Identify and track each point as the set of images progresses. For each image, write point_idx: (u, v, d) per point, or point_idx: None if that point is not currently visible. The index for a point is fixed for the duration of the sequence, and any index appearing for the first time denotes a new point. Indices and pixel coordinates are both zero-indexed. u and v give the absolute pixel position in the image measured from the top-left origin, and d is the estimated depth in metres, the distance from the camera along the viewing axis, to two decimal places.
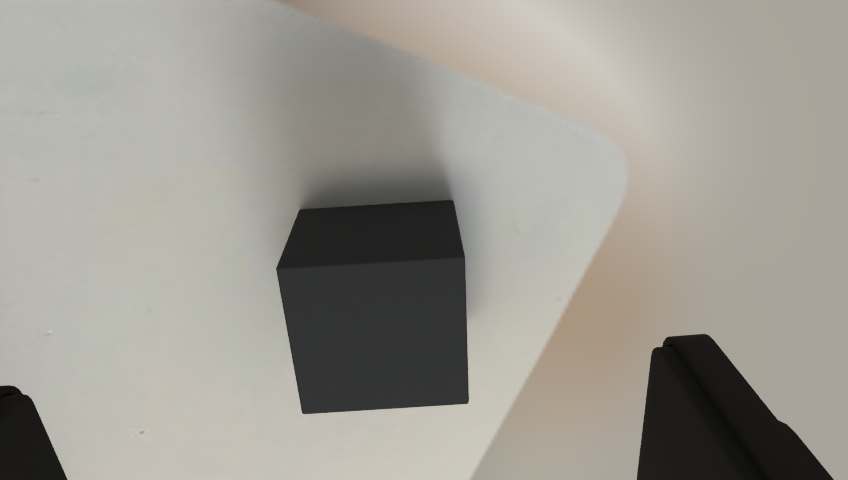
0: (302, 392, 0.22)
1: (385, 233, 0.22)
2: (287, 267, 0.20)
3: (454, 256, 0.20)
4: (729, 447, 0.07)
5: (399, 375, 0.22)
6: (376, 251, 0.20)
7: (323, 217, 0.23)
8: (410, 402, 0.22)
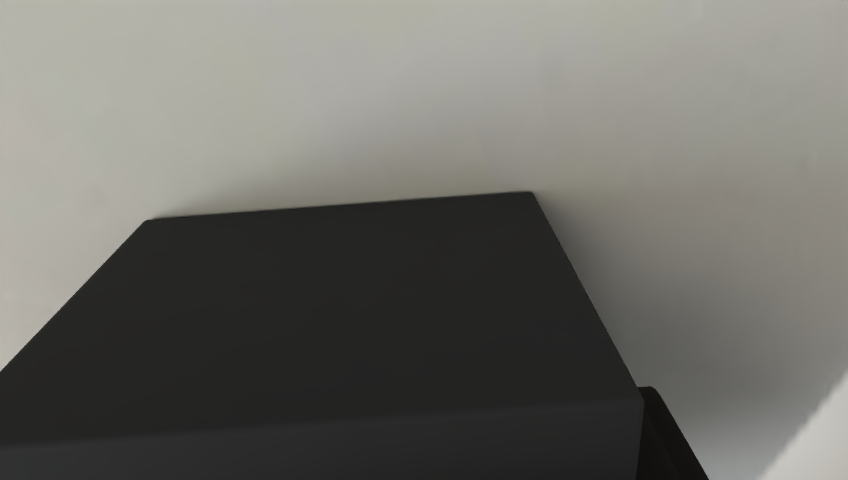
0: (44, 457, 0.05)
1: None
2: None
3: None
4: None
5: None
6: None
7: None
8: None
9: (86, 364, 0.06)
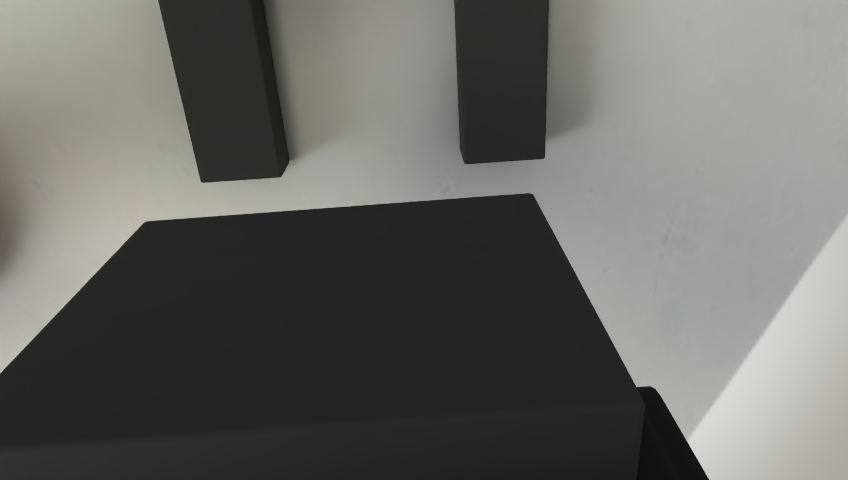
0: (44, 459, 0.05)
1: None
2: None
3: None
4: None
5: None
6: None
7: None
8: None
9: (86, 366, 0.06)
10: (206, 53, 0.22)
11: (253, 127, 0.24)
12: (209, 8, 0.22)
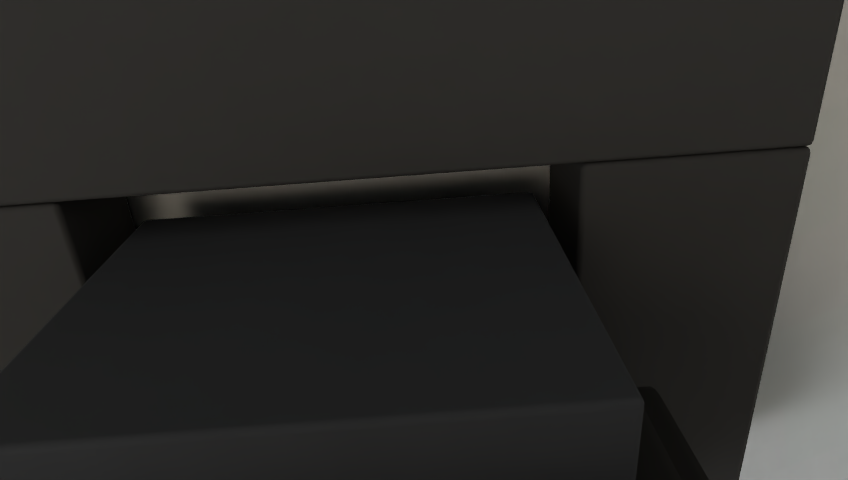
0: (43, 458, 0.05)
1: None
2: None
3: None
4: None
5: None
6: None
7: None
8: None
9: (85, 365, 0.06)
10: None
11: None
12: None
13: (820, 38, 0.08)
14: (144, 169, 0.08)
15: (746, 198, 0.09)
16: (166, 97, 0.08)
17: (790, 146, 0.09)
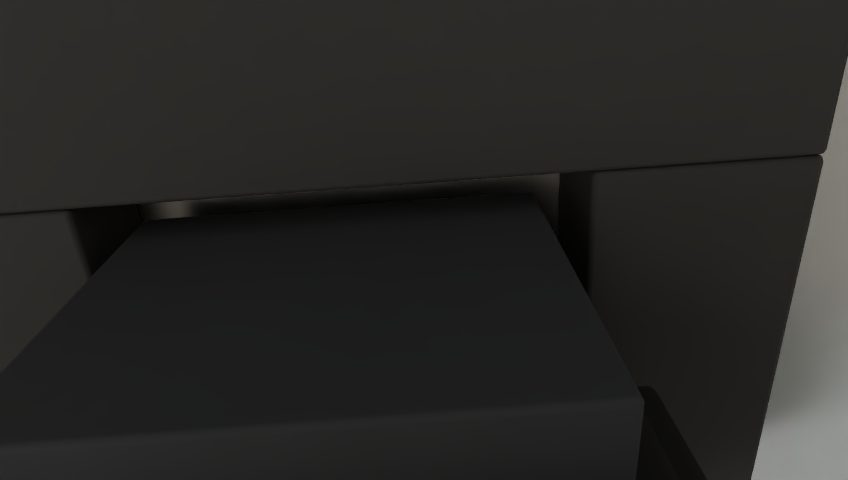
0: (44, 457, 0.05)
1: None
2: None
3: None
4: None
5: None
6: None
7: None
8: None
9: (86, 364, 0.06)
10: None
11: None
12: None
13: (834, 47, 0.08)
14: (155, 177, 0.08)
15: (758, 207, 0.09)
16: (178, 105, 0.08)
17: (803, 155, 0.09)
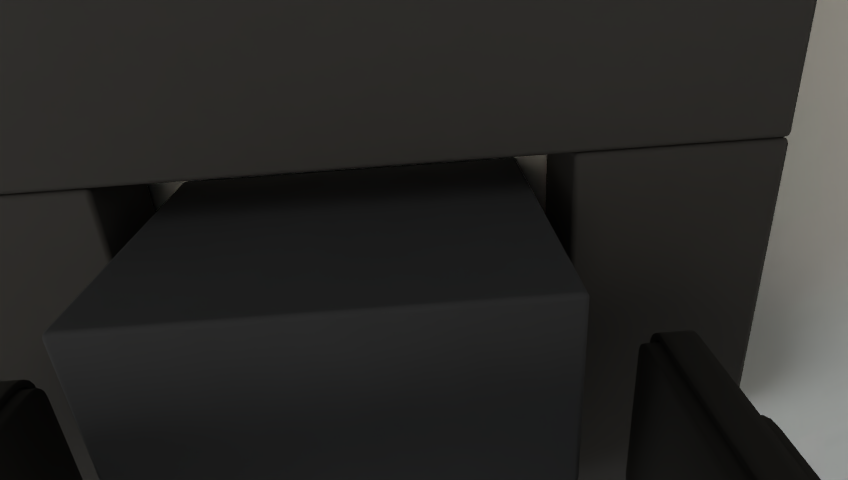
0: (133, 338, 0.07)
1: None
2: (580, 315, 0.07)
3: None
4: (711, 440, 0.07)
5: None
6: None
7: None
8: None
9: (155, 279, 0.08)
10: (15, 331, 0.10)
11: None
12: (8, 248, 0.10)
13: (795, 36, 0.09)
14: (169, 157, 0.09)
15: (728, 186, 0.09)
16: (191, 90, 0.09)
17: (769, 137, 0.09)
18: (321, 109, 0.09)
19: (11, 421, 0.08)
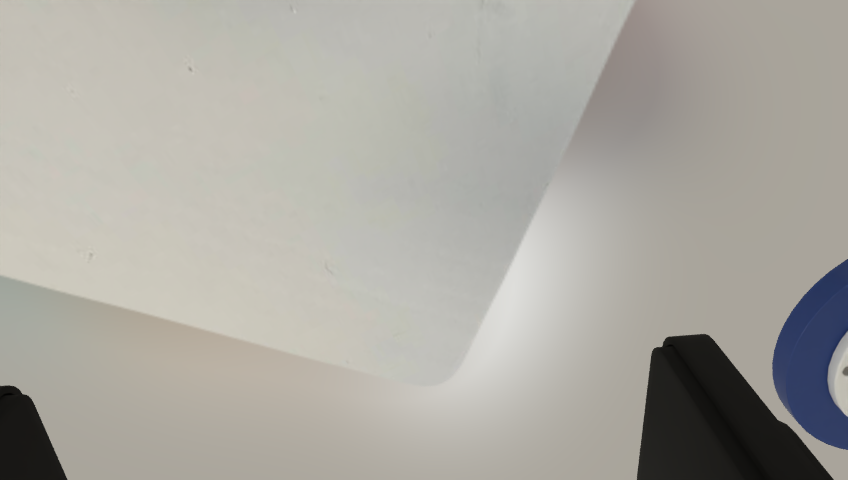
0: None
1: None
2: None
3: None
4: (729, 447, 0.07)
5: None
6: None
7: None
8: None
9: None
10: None
11: None
12: None
13: None
14: None
15: None
16: None
17: None
18: None
19: None
